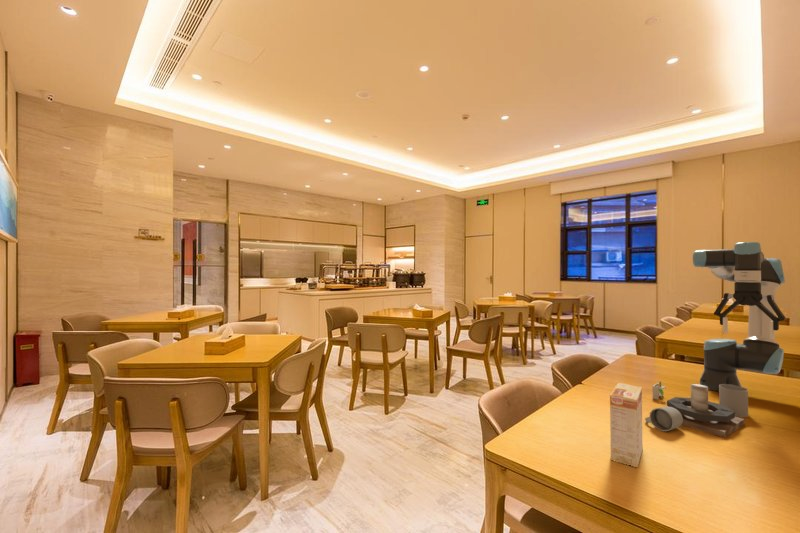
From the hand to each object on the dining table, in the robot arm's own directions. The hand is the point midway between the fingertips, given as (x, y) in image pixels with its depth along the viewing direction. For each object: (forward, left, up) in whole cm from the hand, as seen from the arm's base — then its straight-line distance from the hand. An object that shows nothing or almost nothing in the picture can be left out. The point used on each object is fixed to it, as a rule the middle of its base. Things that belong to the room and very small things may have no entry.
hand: (748, 336), depth 140 cm
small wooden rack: (+7, -28, -31) cm, 43 cm away
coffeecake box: (+72, -10, -31) cm, 79 cm away
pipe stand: (+23, -8, -31) cm, 39 cm away
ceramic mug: (+41, -13, -31) cm, 53 cm away
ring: (+23, -8, -27) cm, 36 cm away
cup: (+2, -4, -31) cm, 31 cm away
